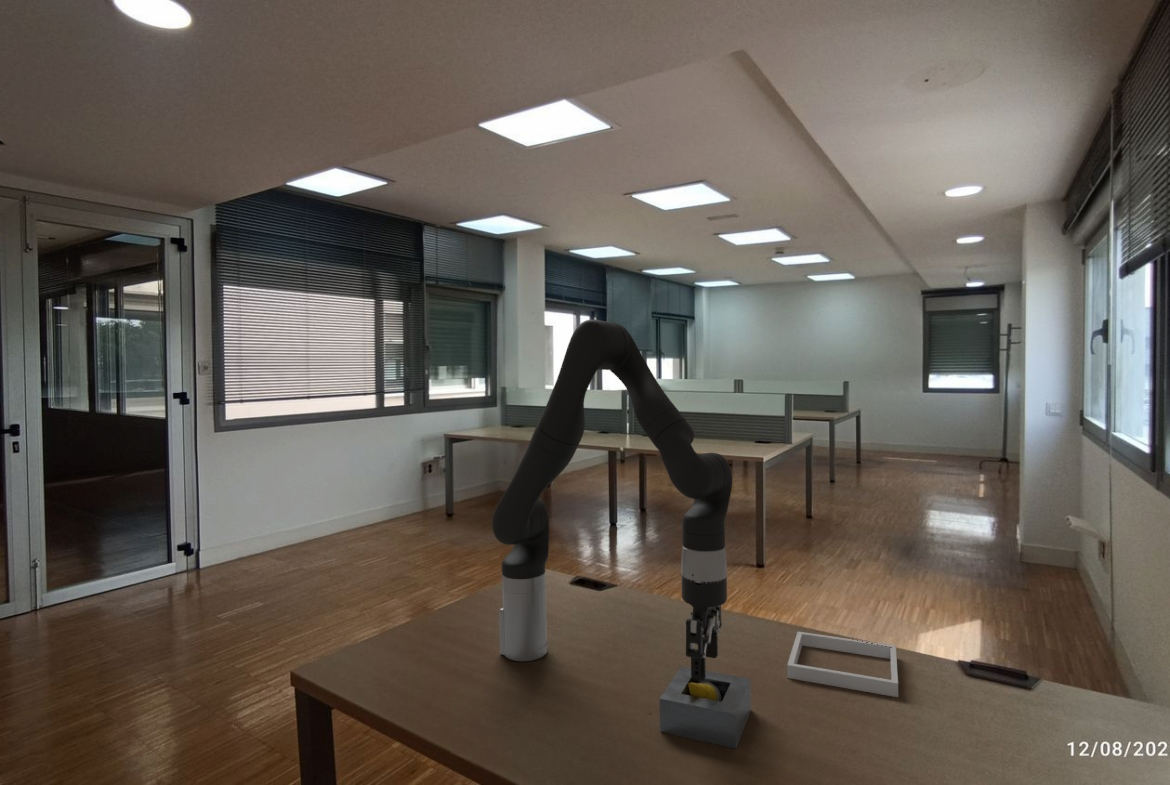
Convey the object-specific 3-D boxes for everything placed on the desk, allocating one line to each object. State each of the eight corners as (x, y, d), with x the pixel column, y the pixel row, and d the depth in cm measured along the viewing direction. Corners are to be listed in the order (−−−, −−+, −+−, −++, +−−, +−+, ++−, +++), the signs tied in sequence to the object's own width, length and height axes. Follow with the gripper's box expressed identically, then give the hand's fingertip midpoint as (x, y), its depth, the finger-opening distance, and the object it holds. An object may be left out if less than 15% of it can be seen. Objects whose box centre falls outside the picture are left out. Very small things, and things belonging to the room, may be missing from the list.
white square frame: (787, 677, 120) (787, 664, 120) (797, 642, 135) (797, 631, 135) (898, 697, 112) (898, 683, 111) (895, 657, 127) (895, 645, 127)
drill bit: (731, 718, 105) (706, 694, 100) (702, 726, 107) (676, 703, 101) (724, 686, 109) (700, 662, 104) (696, 695, 111) (671, 672, 106)
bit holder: (660, 731, 103) (659, 698, 102) (681, 695, 114) (681, 666, 114) (736, 748, 97) (735, 714, 97) (750, 709, 109) (750, 678, 108)
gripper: (693, 558, 113) (694, 646, 113) (669, 582, 100) (670, 682, 101) (735, 563, 110) (736, 654, 110) (716, 588, 97) (717, 691, 97)
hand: (704, 667), depth 105 cm, fingers open, 8 cm apart
